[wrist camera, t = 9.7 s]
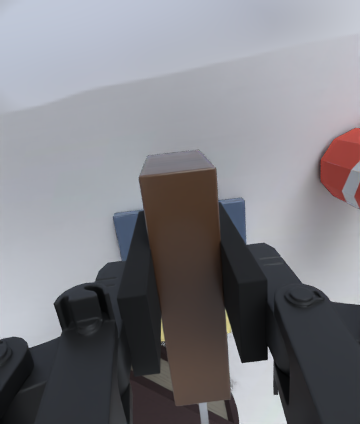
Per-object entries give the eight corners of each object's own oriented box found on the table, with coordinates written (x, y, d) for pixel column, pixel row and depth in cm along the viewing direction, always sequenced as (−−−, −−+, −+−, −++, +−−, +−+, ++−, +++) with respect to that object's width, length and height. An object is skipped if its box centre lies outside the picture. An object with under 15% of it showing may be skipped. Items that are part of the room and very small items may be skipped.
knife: (146, 155, 13) (138, 176, 9) (199, 149, 13) (216, 166, 9) (189, 445, 19) (196, 536, 15) (223, 441, 19) (239, 530, 15)
